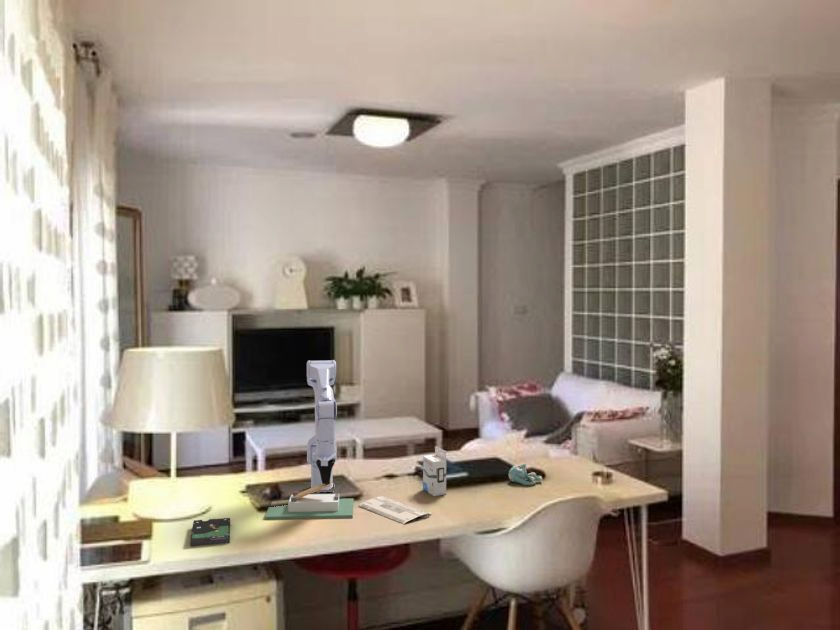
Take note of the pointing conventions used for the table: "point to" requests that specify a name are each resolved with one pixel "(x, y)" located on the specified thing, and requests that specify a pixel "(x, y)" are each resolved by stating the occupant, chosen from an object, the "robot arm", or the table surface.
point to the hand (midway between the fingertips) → (325, 483)
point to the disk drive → (210, 532)
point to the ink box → (435, 473)
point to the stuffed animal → (522, 475)
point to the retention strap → (312, 490)
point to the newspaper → (393, 509)
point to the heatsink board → (310, 515)
